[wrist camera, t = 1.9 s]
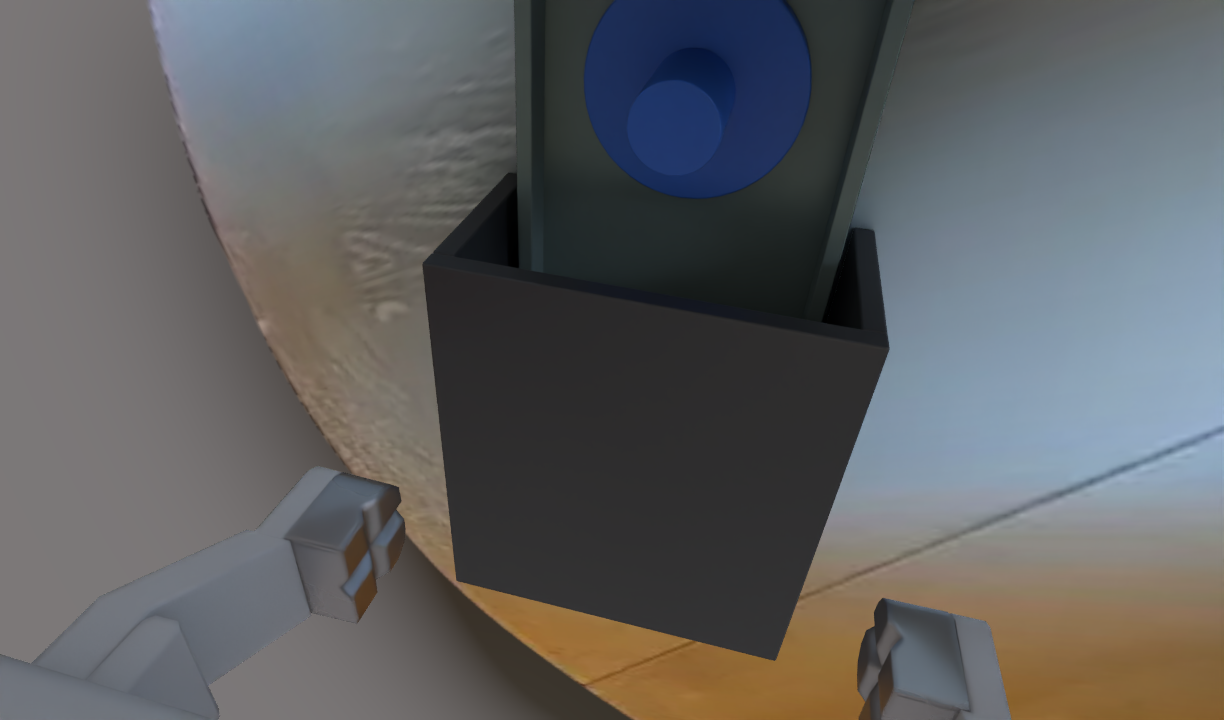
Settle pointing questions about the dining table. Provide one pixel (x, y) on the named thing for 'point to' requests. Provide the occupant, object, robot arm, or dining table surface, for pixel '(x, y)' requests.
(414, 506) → the dining table surface
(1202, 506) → the dining table surface
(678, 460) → the dark grey drawer cabinet
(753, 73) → the lid
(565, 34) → the grey drawer
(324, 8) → the dining table surface
